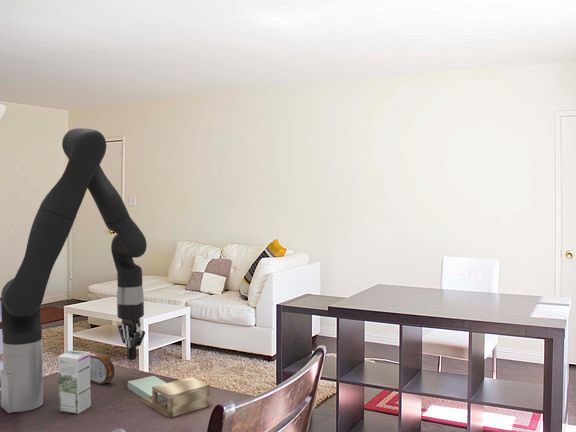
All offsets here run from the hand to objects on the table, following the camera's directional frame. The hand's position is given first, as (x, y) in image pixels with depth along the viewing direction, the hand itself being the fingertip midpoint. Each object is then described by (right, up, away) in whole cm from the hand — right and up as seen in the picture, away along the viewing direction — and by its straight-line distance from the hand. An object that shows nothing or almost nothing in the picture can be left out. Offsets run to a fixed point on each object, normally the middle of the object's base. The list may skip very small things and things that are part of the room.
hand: (131, 359), depth 170 cm
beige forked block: (+17, -7, -18) cm, 26 cm away
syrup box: (-9, -8, -22) cm, 25 cm away
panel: (+8, -7, -9) cm, 14 cm away
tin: (-11, -7, 0) cm, 13 cm away
